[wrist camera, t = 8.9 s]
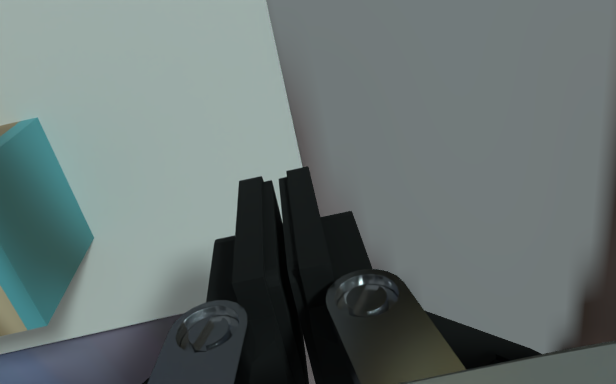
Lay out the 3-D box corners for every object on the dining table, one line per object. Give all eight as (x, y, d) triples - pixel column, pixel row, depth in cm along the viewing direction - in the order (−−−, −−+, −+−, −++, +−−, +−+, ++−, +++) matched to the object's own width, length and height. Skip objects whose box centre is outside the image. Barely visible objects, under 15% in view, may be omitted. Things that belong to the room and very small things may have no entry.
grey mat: (247, -82, 16) (247, -84, 15) (324, 270, 22) (327, 281, 21) (-438, 67, 15) (-471, 73, 15) (-160, 378, 22) (-173, 393, 21)
